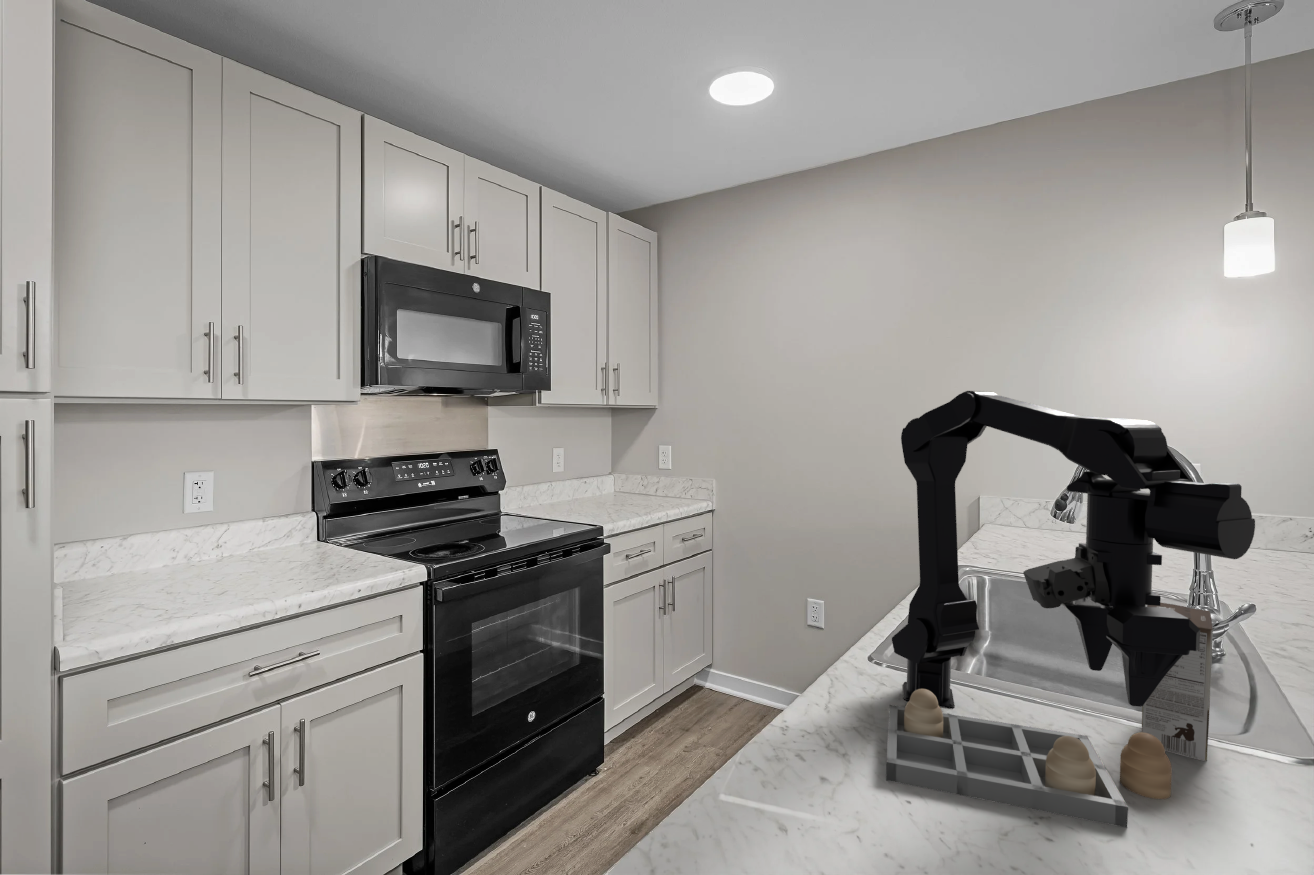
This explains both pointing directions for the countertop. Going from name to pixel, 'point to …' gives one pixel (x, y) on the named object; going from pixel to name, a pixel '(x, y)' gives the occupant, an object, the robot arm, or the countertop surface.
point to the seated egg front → (1070, 767)
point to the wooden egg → (1146, 767)
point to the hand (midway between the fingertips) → (1114, 686)
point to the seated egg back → (923, 714)
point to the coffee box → (1184, 695)
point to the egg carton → (996, 766)
